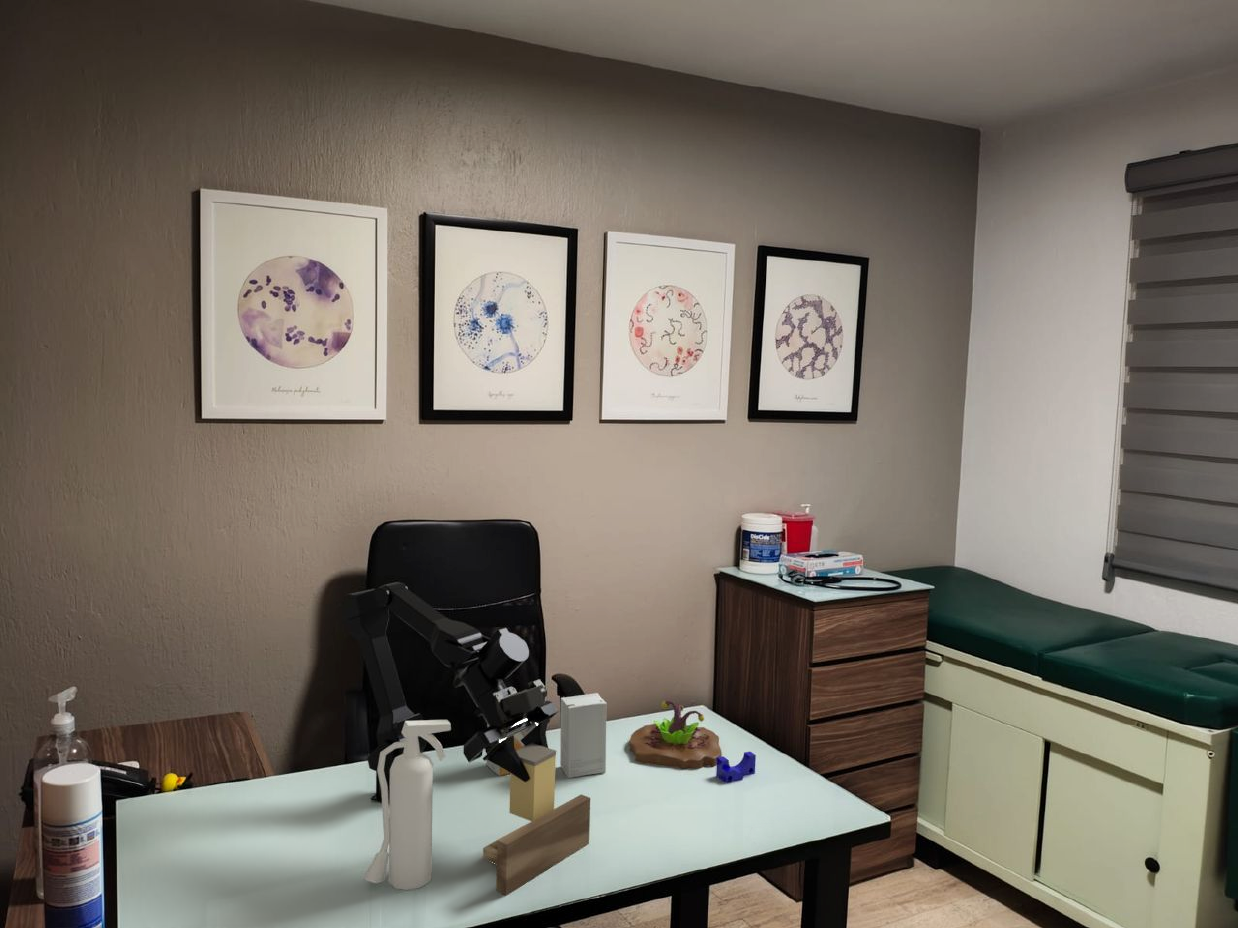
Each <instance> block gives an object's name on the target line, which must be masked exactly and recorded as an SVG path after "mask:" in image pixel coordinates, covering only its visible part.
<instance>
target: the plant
mask: <svg viewBox="0 0 1238 928" xmlns="http://www.w3.org/2000/svg"><path fill="white" fill-rule="evenodd" d="M669 705H671V706H672V707H673V711H674V712H673V713H674V714H673V717H672V718H671V719H670V720H669V719H667V718H666V717H665V718H663V720H662V722H661V721H658V720H653V723H651V724H646V725H645V724H644V725H643V726H642V727H640V728H638V729H636V730H635V731H634V732H633V733H632V734H631V735H630V739H629V742H628V751H629V752H630V753H632V754H633V756H634V758H635V759H634V761H635V762H636V763H641V764H645V765H656V766H660V767H670V768H671V767H672V768H678V769H681V770H687V769H691V770H700V769H702V768H703V767H710V768H711V767H717V757H723V755H722V753H723V752H722V749H721V746H720V743H719V742H720V737H719V735H718V734H716V733H715V732H714V731H713V730H710V729H708V728H706V727H704V726H700V722H701V723H702V722H703V721H705V717H704V715H703V713H701V712H700V711H697V710H690V711H687V712H686V713H685V714H683V716H682V713H681V712H683V710H684V706H683V704H678V705H677V704H676V703H675V702H674V701H672V700H664V701H662V702H661V708H662V709H667V708H668V707H669ZM693 714H697V715H698V717H697V719H698V721H699V722H693V723H690V724H689V725H687V719H688V718H689V717H690V716H691V715H693Z"/></svg>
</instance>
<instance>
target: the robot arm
mask: <svg viewBox="0 0 1238 928" xmlns="http://www.w3.org/2000/svg"><path fill="white" fill-rule="evenodd" d="M338 610H339V614H340V618H341V619H342V622H343V624H344V627H345V630H346V631H347V632H348V633H349V634H350V635H351V636H352V637H353V638H355V639H356V640H357V642H358V643H359V647H360V651H361V653H362V657H363V660H364V664H365V667H366V670H367V675H368V678H369V682H370V685H371V688H372V692H373V695H374V699H375V703H376V706H377V709H378V713H379V717H380V718H379V721H378V726H377V731H376V741H377V747H376V748H375V749H373V751H371V753H370V754H369V755H368V756H367V757H366V759H367V763H368V768H369V769H370V770H372V771H375V793H374V794H373V795H372V796H370V800H371V801H373V802H374V801H375V802H378V803H382V793H381V786H380V781H379V776H378V772H377V768H378V763H379V757H380V752H382V751H383V750H384V749H386V748H387V747H389V746H390V745H392V744H393V743H395V742H401V741H405V740H406V737H404V736H403V734H402V733H401V732H402V729H403V726H404V723H405V721H421V720H424V717H423V716H422V714H421V713H420V712H418V713H416V714H415V713H414V712H413V711H412V710H411V709H410V708H409V707H408V706H407V702H406V699H405V696H404V692H403V689H402V685H401V682H400V679H399V675H398V671H397V668H396V664H395V661H394V658H393V655H392V651H391V648H390V647H391V646H390V645H389V641H388V637H387V633H386V632H387V628H388V623H389V622H390V621H389V620H390V613H389V611H390V612H391V613H393V614H394V615H395V616H396V617H398V618H399V619H401V621H403V622H404V623H406V624H407V625H408V626H410V627H411V628H412V629H414V631H416V632H417V633H418V634H420V635H421V636H423V637H424V638H425V639H426V640H427V641H428V642H429V644H430V647H431V652H432V653H433V654H434V655H435V656H436V658H438V659H439V661H440V662H441V663H442V664H443V665H444V666H445V667H448V668H454V667H458V666H460V665H463V664H466V663H469V662H470V663H469V664H468V665H467V666H466V667H465V668H461V669H458V670H456V671H455V676H454V680H453V683H452V685H453V688H455V689H456V688H458V687H461V686H464V687H465V689H466V691H467V692H468V694H469V695H470V697H471V699H472V701H473V702H474V704H475V705H476V707H477V708H476V710H475V711H474V714H475V715H476V717H477V718H478V717H481V716H482V717H483V718H484V720H485V722H486V725H487V724H488V725H489V727H487V726H486V727H485V728H482V729H480V730H478V731H476V733H475V734H474V735H473V736H471V738H469V739H468V740H467V741H466V742H465V743H464V744H463V751H462V752H463V755H464V757H465V758H466V760H467V762H468V763H469V764H470V763H472V762H473V761H476V760H478V759H481V757H482V756H483V752H485V756H483V758H482V760H483V761H484V762H485V761H486V760H489V761H490V762H492V763H494V764H496V765H498V766H500V767H502V768H503V769H505V770H507V771H508V772H510V773H511V774H513V775H515V776H516V777H518V778H519V779H521V780H522V781H524V782H527V781H528V780H530V777H529V774H528V772H527V770H526V768H525V766H524V764H523V763H522V761H521V759H520V757H519V756H518V754H517V752H516V750H515V748H514V734H516V733H518V732H520V731H522V733H523V734H524V736H525V737H524V738H523V739H521V740H520V741H521V742H522V743H523V744H524V745H525V746H527V745H529V744H531V743H534V744H537V745H540V746H543V747H546V748H549V744H548V740H547V733H546V732H547V728H548V724H549V723H551V719H552V718H554V716H555V715H557V714H558V713H560V710H559V709H558V708H557V706H556V705H555V703H554V702H553V701H550V700H545V699H544V698H547V696H548V690H547V689H546V686H545V685H544V683H543V682H542V681H541V679H540V678H539V679H535V680H532V681H530V682H527V684H526V689H524V690H522V691H518V692H517V689H516V688H515V687H513V686H509V687H507V686H506V684H505V683H504V681H503V680H506V679H507V678H509V677H510V676H511V675H512V674H513V672H515V671H516V670H518V668H519V667H520V666H521V665H522V664H523V663H524V662H525V661H527V659H528V658H529V656H530V650H529V647H528V644H527V642H526V641H525V640H524V639H522V638H521V637H520V636H519V635H517V634H515V633H513V632H510V631H508V628H507V627H501V628H499V629H497V630H496V631H495V632H493V634H492V636H491V638H490V637H488V636H485V635H484V634H482V633H481V632H480V630H479V629H477V628H476V627H473V626H471V625H469V624H468V623H465V622H463V621H458V620H454V619H450V618H448V617H446V616H444V615H443V614H442V613H441V612H439V611H438V610H436V608H434V607H433V606H431V605H430V604H428V603H427V602H426V601H424V600H423V599H422V598H420V597H419V596H418V595H417V594H416V593H414V592H412V591H411V590H410V589H409V588H408V586H407V585H406V584H405V583H404V582H401V581H396V582H392V583H387V584H384V585H381V586H379V587H378V588H371V589H367V590H363V591H362V590H361V591H358V592H353V593H348V594H345V595H344V596H343V598H342V599H341V602H340V604H339V607H338ZM475 660H476V661H475ZM477 660H478V661H477ZM525 714H526V715H525ZM524 715H525V716H524ZM516 726H518V727H516ZM506 731H507V732H506ZM512 735H513V736H512ZM509 736H511V737H509ZM508 737H509V738H508ZM418 742H419V749H420V753H424V751H425V748H426V746H427V745H428V741H427V740H425V739H423V738H422V737H420V736H419V735H418ZM403 752H404V747H402V748H396V749H394V750H393V751H391V752H390V753H388V754H387V755H386V757H385V764H384V774H385V778H386V782H387V786H388V803H389V805H390V768H391V766H392V763H393V761H394V759H395V757H397V756H399V755H402V754H403ZM510 773H509V774H510Z"/></svg>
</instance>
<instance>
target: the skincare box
mask: <svg viewBox="0 0 1238 928" xmlns="http://www.w3.org/2000/svg"><path fill="white" fill-rule="evenodd" d="M607 705H608V703H607V702H606V701H605V700H604V699H603V698H602V697H601V696H600V694H599V693H598V692H595V693H590V694H587V693H586V694H582V695H581V694H579V695H574V696H566V697H564V696H563V697H560V712H559V713H560V716H559V717H560V743H559V745H560V768H561V769H562V770H563V772H564V774H565V775H566V777H567V778H568V779H571V778H575V777H582V776H589V775H596V774H602V773H606V772H607V771H606V770H607V767H606V766H607V763H606V761H607V755H606V754H607V753H606V752H607V707H608V706H607Z"/></svg>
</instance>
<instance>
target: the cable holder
mask: <svg viewBox="0 0 1238 928" xmlns="http://www.w3.org/2000/svg"><path fill="white" fill-rule="evenodd" d="M756 758H757V755H756V754H755V753H753V752H752V751H746V752H743V756H742V759H741V760H740V761H739V763H737V764H735V765H733V766H730V761H729V759H728V758H727V757H725V756H722V757H717V765H716V772H715V776H716V778H718V779H719V780H721V781H722V782H724V783H725V784H729V783H733V782H739V781H742V780H743V781H744V779H743V778H744V777H745V776H749V775H755V774H756Z"/></svg>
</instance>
